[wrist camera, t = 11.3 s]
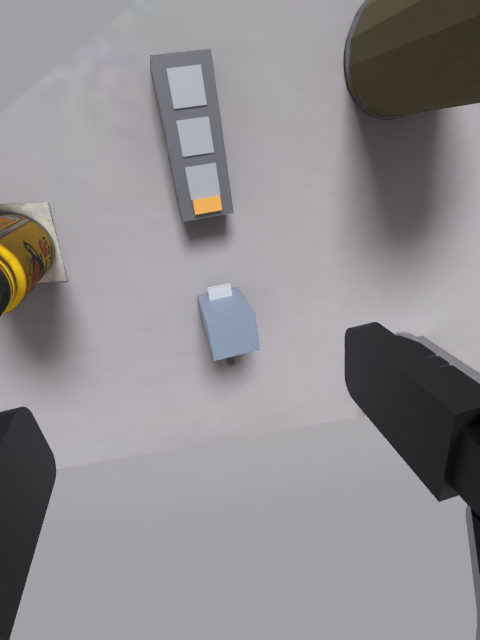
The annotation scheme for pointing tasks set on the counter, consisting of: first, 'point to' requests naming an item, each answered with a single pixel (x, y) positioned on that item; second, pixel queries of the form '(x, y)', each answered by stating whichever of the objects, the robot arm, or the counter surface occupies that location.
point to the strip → (193, 132)
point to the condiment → (27, 251)
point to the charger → (228, 322)
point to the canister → (414, 56)
